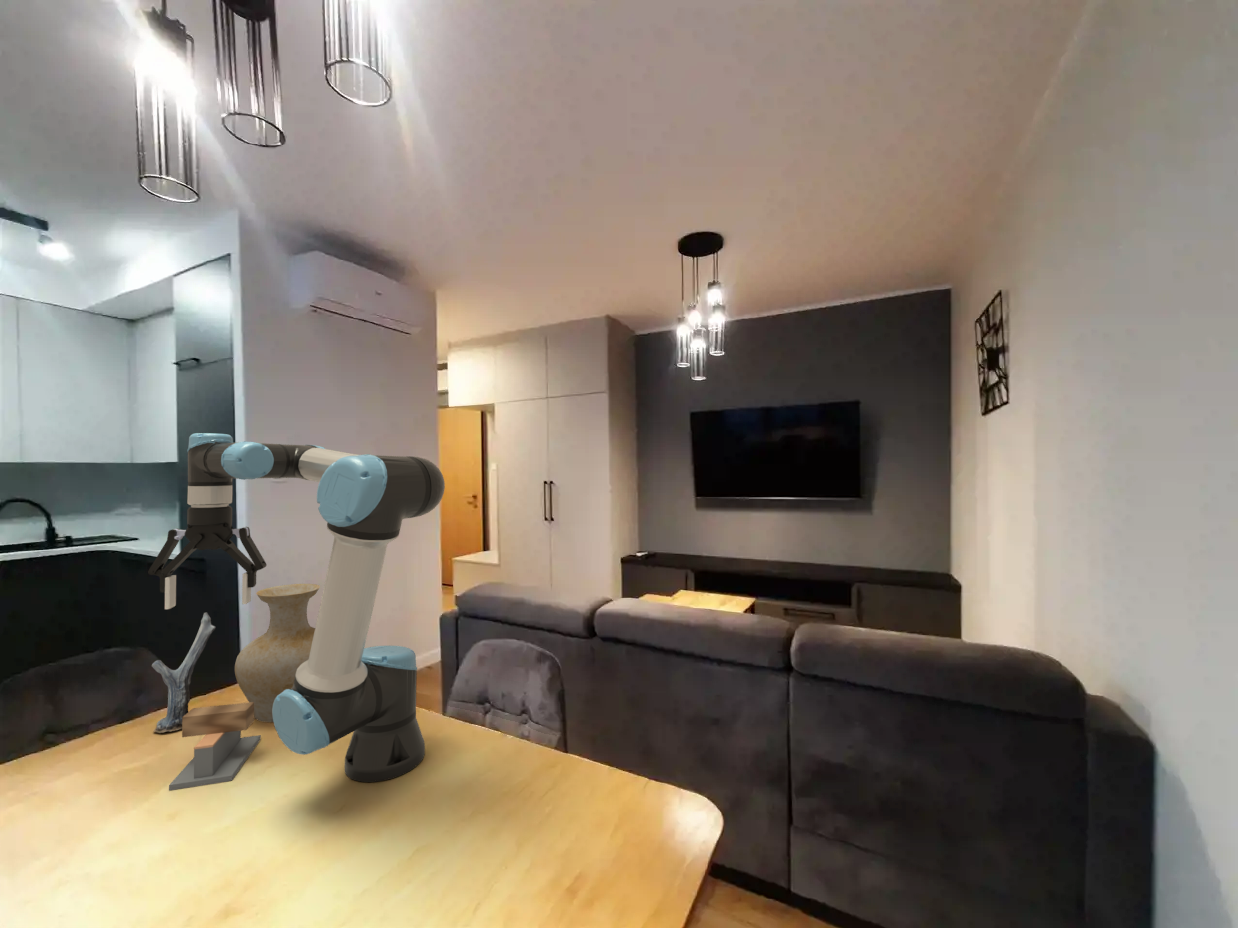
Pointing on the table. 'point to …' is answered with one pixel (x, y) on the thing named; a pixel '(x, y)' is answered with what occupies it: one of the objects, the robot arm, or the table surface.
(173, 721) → the antler
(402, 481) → the robot arm
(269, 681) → the vase
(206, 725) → the walnut bar
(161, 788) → the table surface
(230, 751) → the ridge block
